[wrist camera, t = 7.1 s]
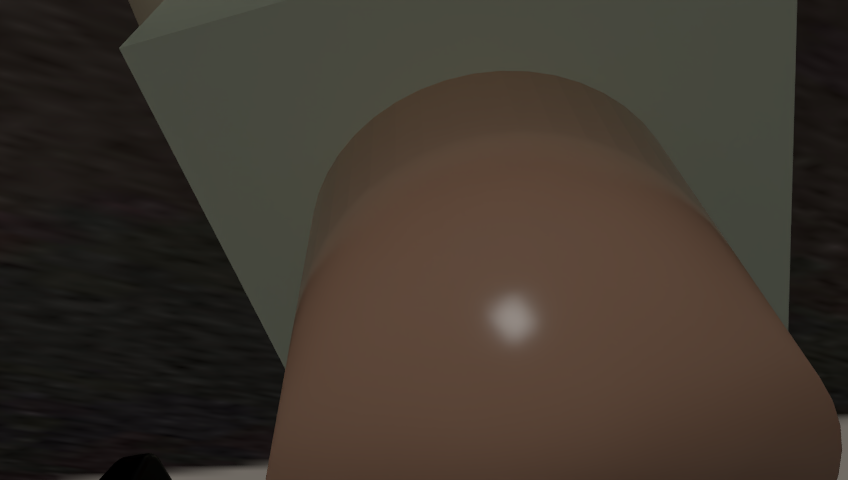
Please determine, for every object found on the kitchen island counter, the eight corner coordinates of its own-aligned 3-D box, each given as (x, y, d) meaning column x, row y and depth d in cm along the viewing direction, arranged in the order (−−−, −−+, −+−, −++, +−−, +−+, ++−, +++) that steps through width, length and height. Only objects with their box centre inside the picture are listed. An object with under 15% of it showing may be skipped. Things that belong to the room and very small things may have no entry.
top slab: (710, -169, 11) (801, -148, 9) (726, 276, 16) (786, 370, 14) (174, -12, 12) (119, 47, 10) (343, 362, 17) (335, 464, 15)
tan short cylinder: (687, 37, 10) (896, 238, 6) (674, 353, 13) (801, 624, 9) (265, 108, 10) (179, 344, 6) (355, 398, 14) (338, 678, 10)
